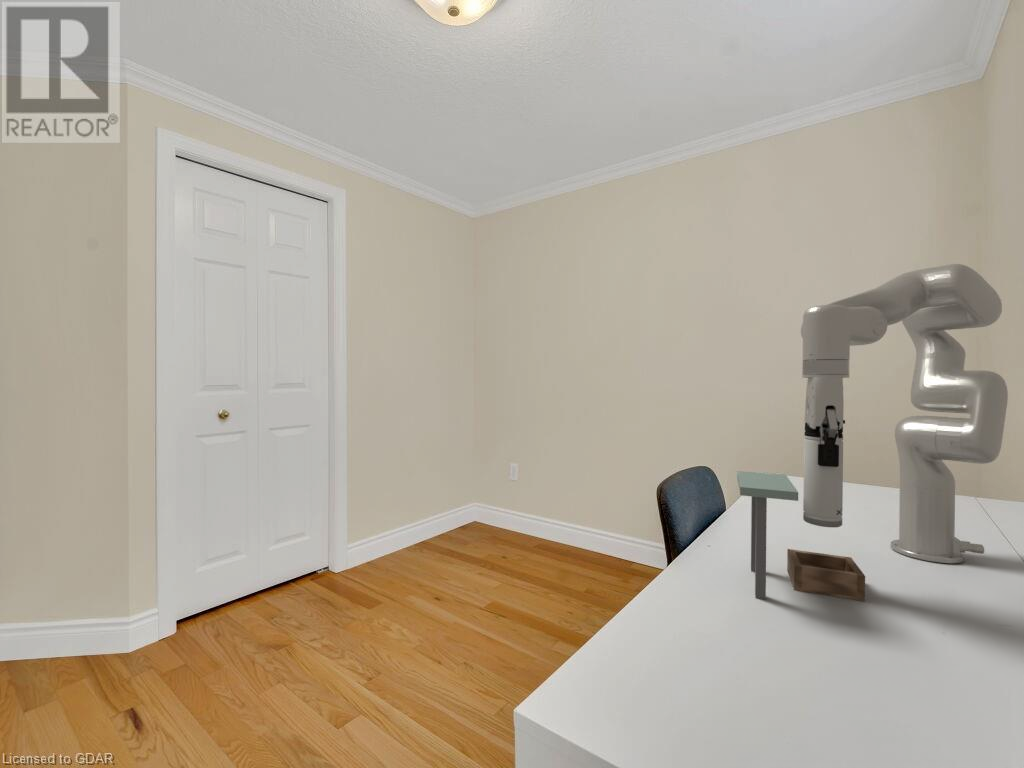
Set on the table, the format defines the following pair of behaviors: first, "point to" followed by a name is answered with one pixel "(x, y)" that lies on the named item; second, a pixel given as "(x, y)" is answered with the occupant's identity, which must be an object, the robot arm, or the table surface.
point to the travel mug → (822, 483)
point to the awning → (762, 515)
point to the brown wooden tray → (825, 574)
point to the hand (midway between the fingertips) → (824, 462)
